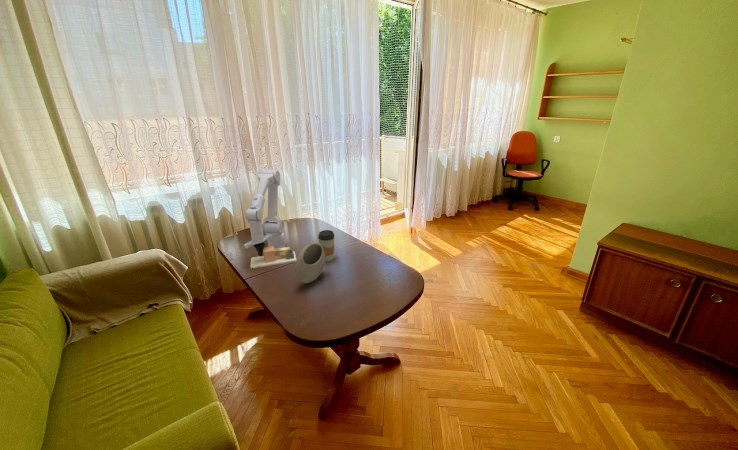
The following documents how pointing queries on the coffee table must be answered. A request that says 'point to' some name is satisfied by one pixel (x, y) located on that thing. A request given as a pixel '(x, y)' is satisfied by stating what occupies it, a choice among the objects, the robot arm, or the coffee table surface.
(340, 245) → the coffee table surface
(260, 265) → the cap board
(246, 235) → the coffee table surface
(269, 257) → the sliding end cap
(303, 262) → the planter
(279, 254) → the slat
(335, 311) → the coffee table surface
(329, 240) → the coffee cup
